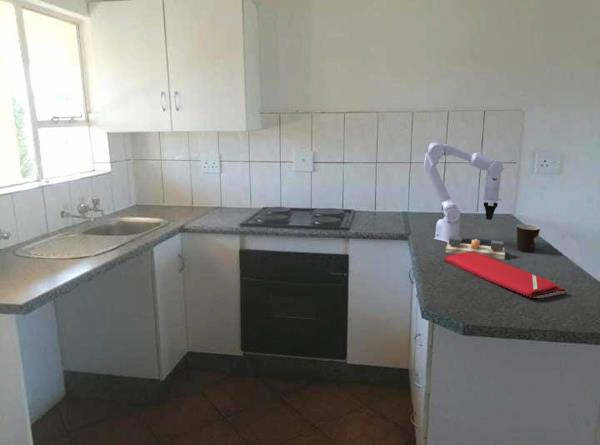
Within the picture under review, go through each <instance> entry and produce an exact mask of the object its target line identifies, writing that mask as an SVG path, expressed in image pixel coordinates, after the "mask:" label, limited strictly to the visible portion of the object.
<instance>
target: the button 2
mask: <svg viewBox="0 0 600 445" xmlns="http://www.w3.org/2000/svg"><path fill="white" fill-rule="evenodd" d="M490 246H491V249H497V250H503V248H504V241H502V240H493V239H491V241H490Z"/></svg>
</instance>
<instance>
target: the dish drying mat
mask: <svg viewBox="0 0 600 445" xmlns="http://www.w3.org/2000/svg"><path fill="white" fill-rule="evenodd" d="M443 261H444V262H446V263H448V264H450V265H452V264H453V265H452V266H454V265H455V266H454V267H456V268H459V269H461V270H463V269H464V271H465V270H466V272H467V271H468V272H467V273H470V274H472V275H474V274H475V275H474V276H476V275H477V277H478V278H481V279H483V278H484V280H486V281H489V282H492V283H494V284H496V285H498V286H500V287H502V286H503V288H505V289H507V288H508V290H510V291H512V292H514V291H515V293H516V294H519V293H520V294H519V295H522V294H523V296H525V295H526V297H528V296H529V297H528V298H531V297H532V298H531V299H534V298H533V297H537V296H540V295H545V294H549V293H553V292H556V291H566V289H565V288H563V287H562V286H559V285H557V284H556V283H555V282H553V281H552V280H549V279H546V278H544V277H541V276H538V275H536V274H533V273H531V272H528V271H526V270H524V269H521V268H518V267H516V266H512V265H510V264H508V263H505V262H503V261H500V260H499V259H495V258H490V257H488V256H486V255H483V254H479V253H472V252H468V253H459V254H450V255H448V256H446V257H444V258H443ZM566 292H567V291H566Z"/></svg>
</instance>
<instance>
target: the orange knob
mask: <svg viewBox="0 0 600 445" xmlns="http://www.w3.org/2000/svg"><path fill="white" fill-rule="evenodd" d="M470 244H471V248H472V249H479V247H480V245H481V240H480V239H477V238H475V239H471V242H470Z"/></svg>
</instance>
